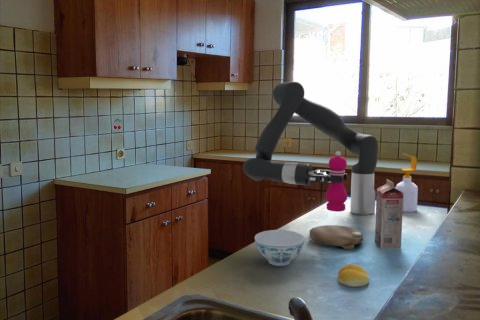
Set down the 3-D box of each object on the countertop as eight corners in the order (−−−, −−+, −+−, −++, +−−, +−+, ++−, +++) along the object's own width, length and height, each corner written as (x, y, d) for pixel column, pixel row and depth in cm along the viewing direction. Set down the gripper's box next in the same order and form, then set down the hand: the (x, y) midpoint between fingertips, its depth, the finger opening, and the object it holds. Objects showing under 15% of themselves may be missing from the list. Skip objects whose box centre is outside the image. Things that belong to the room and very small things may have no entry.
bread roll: (337, 286, 122) (337, 272, 121) (338, 273, 130) (338, 260, 130) (369, 289, 120) (370, 275, 119) (368, 276, 128) (369, 262, 128)
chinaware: (247, 267, 135) (247, 242, 133) (263, 250, 148) (263, 227, 147) (297, 274, 129) (297, 248, 128) (309, 256, 143) (309, 232, 142)
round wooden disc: (340, 230, 169) (340, 220, 168) (374, 245, 153) (374, 234, 152) (299, 237, 162) (299, 227, 161) (329, 253, 145) (330, 242, 145)
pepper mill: (345, 206, 159) (347, 150, 156) (348, 212, 152) (350, 152, 149) (324, 206, 159) (326, 149, 156) (326, 211, 152) (328, 152, 149)
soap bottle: (391, 207, 202) (393, 152, 198) (410, 206, 203) (413, 152, 199) (400, 212, 193) (403, 155, 190) (420, 212, 194) (423, 155, 191)
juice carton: (380, 248, 150) (383, 183, 146) (374, 242, 156) (377, 179, 153) (400, 248, 150) (404, 182, 146) (393, 242, 156) (397, 179, 153)
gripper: (290, 166, 154) (339, 170, 146) (304, 160, 166) (351, 164, 158) (289, 187, 155) (338, 193, 147) (304, 180, 167) (350, 185, 159)
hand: (344, 178), depth 153 cm, fingers closed on pepper mill, 5 cm apart
